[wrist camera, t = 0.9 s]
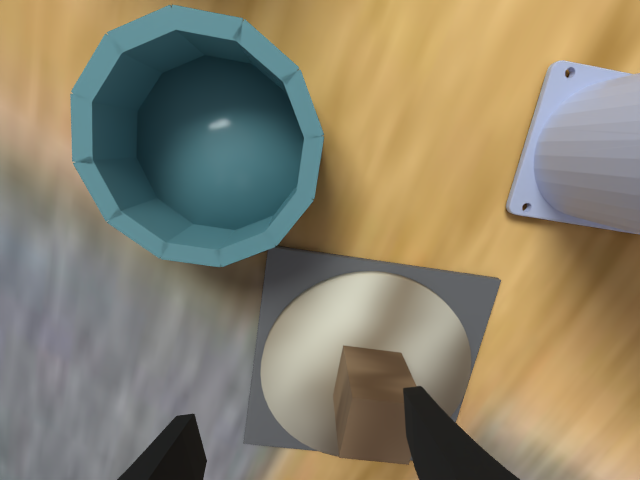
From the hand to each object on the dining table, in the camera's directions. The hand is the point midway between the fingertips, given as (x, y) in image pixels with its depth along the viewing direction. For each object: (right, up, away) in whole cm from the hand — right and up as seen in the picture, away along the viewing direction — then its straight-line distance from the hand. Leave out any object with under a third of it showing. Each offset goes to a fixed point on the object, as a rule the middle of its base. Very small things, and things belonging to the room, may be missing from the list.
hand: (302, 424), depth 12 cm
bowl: (-5, +11, +7) cm, 14 cm away
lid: (+3, -2, +10) cm, 11 cm away
